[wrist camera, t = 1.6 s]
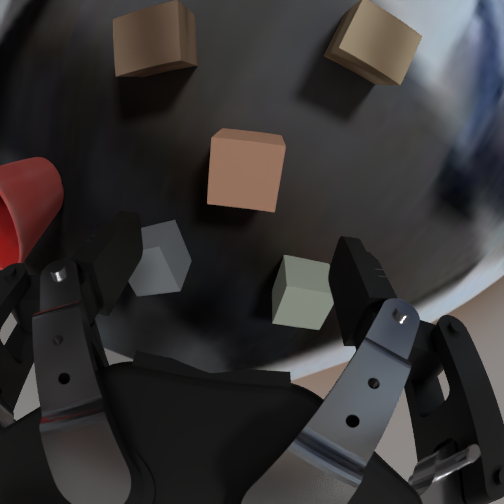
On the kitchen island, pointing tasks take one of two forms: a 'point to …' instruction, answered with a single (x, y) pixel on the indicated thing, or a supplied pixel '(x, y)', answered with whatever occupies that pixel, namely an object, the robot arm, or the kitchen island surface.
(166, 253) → the slate cube
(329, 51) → the oak cube
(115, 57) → the walnut cube
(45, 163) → the flower pot
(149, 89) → the kitchen island surface
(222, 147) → the terracotta cube
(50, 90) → the kitchen island surface
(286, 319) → the sage cube
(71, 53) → the kitchen island surface
